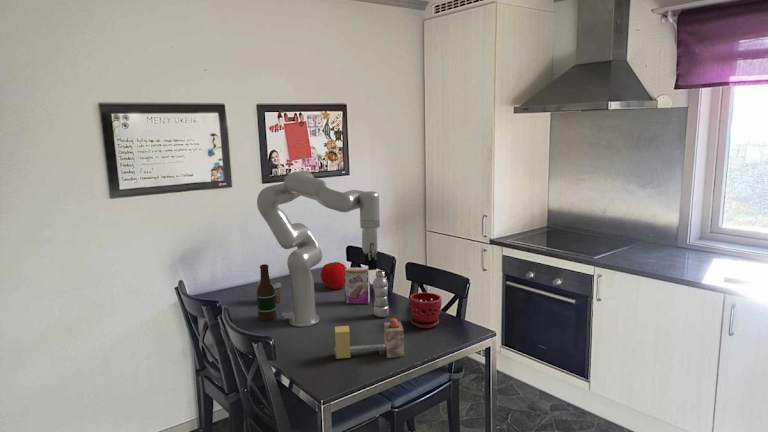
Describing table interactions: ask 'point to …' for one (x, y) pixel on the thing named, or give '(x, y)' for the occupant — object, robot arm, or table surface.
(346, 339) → the yellow block
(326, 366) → the table surface
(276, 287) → the food container
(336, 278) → the tomato
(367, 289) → the candy bar box
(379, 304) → the plastic bottle
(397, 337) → the beige mottled box
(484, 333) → the table surface
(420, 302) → the plant pot
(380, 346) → the rail
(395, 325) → the button
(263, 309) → the beer bottle
